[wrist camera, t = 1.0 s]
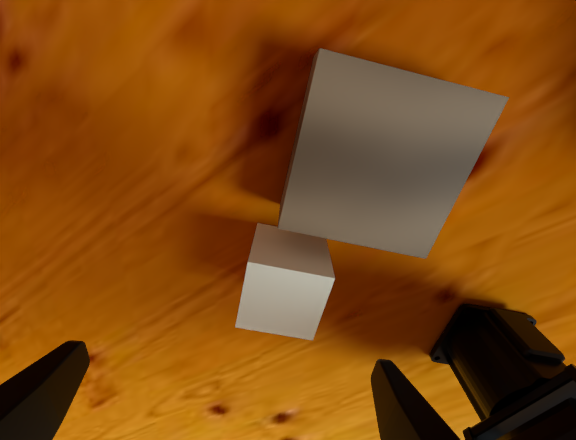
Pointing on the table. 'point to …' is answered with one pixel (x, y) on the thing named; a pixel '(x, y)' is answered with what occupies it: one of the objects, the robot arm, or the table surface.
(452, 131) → the grey block
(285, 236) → the cream cube
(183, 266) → the table surface
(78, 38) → the table surface
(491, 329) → the robot arm
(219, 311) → the table surface
